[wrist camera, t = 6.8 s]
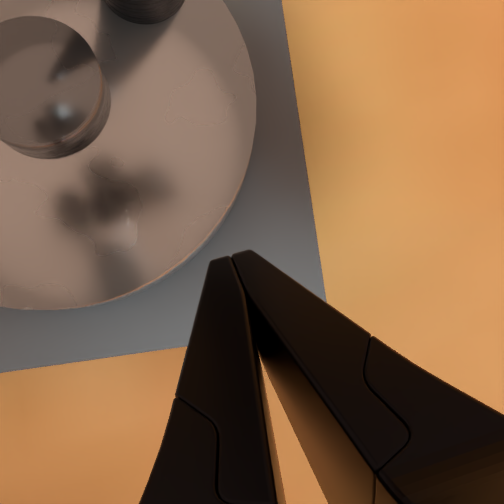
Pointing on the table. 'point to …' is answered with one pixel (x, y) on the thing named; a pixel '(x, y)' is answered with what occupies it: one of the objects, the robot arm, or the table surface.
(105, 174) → the grey round part
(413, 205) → the table surface
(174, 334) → the post base
